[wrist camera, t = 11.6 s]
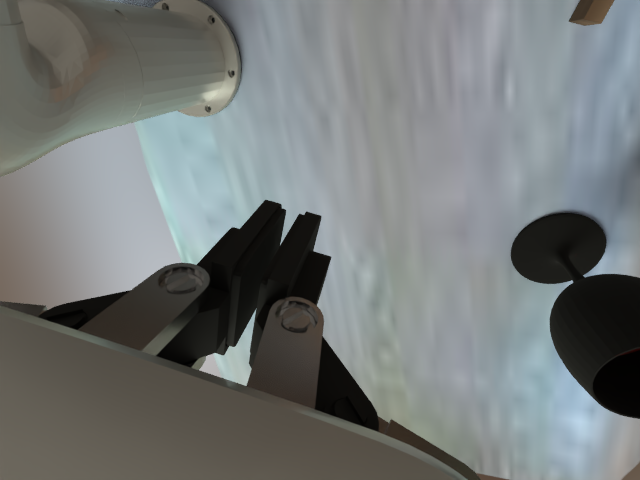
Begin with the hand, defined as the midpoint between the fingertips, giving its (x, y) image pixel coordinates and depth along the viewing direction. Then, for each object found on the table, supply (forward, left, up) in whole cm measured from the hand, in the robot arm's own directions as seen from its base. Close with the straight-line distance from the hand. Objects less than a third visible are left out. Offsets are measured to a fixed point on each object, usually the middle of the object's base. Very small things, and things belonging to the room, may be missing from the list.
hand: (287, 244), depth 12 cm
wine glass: (+28, -10, -32) cm, 44 cm away
